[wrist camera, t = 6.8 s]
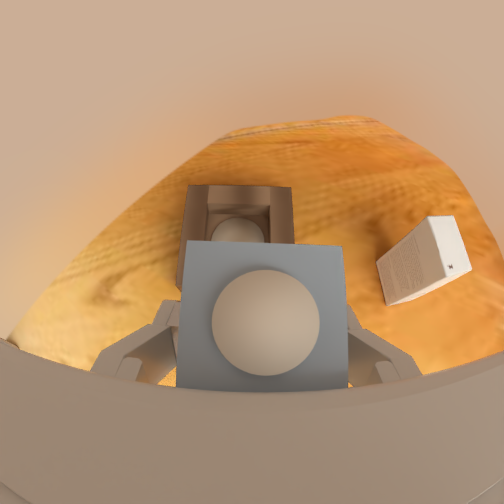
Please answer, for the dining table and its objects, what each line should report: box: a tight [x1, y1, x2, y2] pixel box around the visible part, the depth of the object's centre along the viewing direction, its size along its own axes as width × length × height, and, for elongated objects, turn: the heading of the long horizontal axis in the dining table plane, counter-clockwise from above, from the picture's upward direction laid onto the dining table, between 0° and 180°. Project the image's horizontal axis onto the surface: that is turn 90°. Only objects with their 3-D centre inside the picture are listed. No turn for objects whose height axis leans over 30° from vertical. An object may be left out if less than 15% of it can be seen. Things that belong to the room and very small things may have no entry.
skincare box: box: [376, 215, 472, 306], centre depth 26 cm, size 6×4×12 cm
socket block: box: [176, 185, 295, 292], centre depth 31 cm, size 12×12×4 cm
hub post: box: [176, 240, 348, 392], centre depth 10 cm, size 4×4×9 cm
